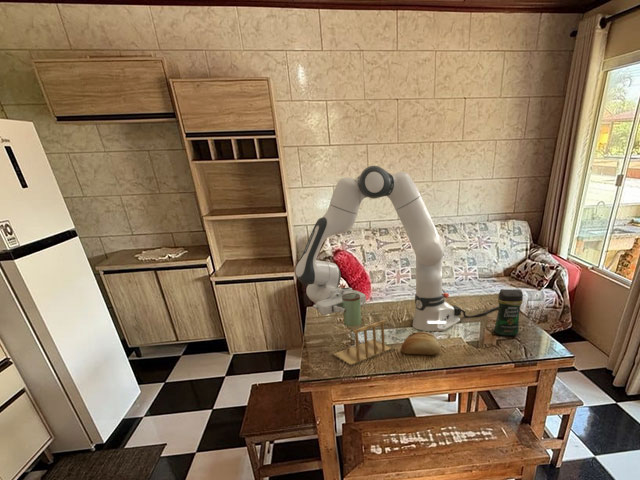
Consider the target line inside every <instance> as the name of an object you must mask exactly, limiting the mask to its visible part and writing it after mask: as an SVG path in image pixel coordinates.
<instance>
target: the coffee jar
mask: <svg viewBox="0 0 640 480" xmlns="http://www.w3.org/2000/svg"><path fill="white" fill-rule="evenodd" d="M523 293H524V292H523V291H522V289H504V288H502V289H500V290H499V294H498V297H497V302H498V307H499V309H497V310H498V311H497V316H496V320H495V324H494V332H495V334H497V335H498V336H507V337H508V336H517V335H518V334H519V331H520V329H519V328H520V311H521V306H522V304H523V302H524V294H523Z"/></svg>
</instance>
